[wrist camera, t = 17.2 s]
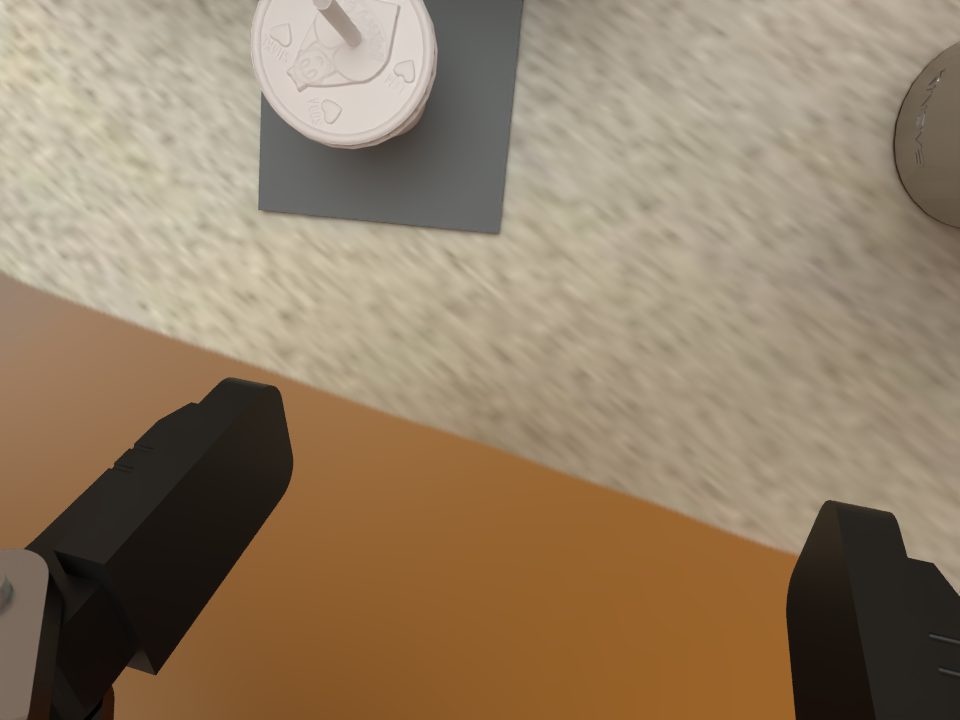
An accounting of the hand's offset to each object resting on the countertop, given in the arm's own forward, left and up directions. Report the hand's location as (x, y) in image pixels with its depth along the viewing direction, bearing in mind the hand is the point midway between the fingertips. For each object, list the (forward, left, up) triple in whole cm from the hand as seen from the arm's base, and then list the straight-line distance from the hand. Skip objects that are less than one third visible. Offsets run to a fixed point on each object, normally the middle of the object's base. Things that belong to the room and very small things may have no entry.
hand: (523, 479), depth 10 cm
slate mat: (+7, -9, -26) cm, 28 cm away
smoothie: (+7, -9, -25) cm, 27 cm away
